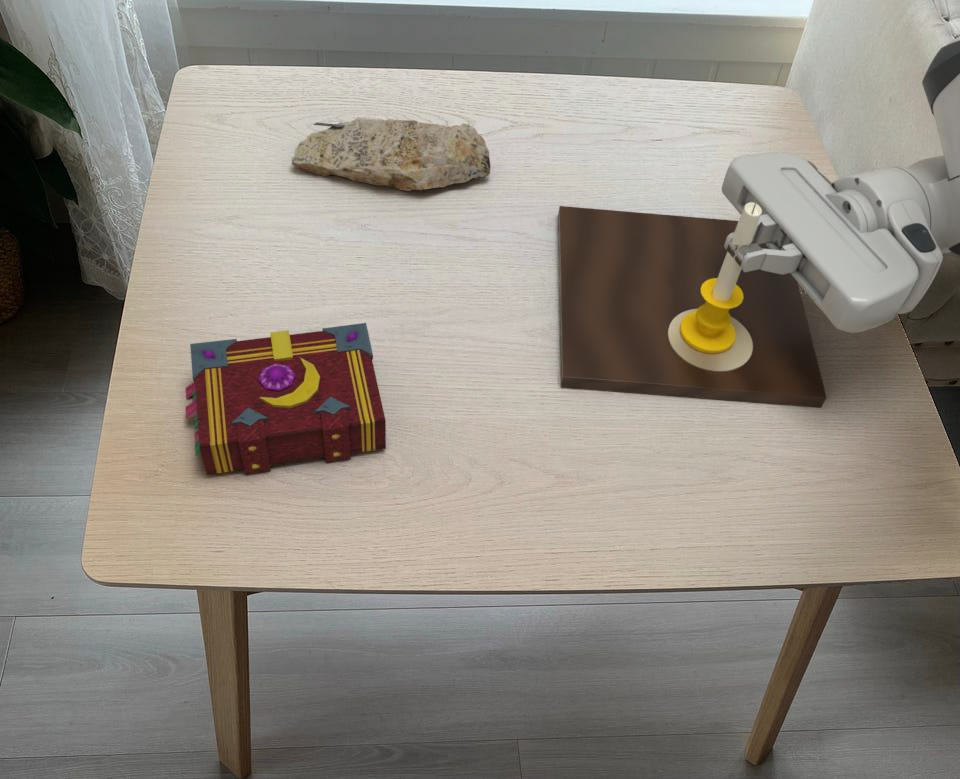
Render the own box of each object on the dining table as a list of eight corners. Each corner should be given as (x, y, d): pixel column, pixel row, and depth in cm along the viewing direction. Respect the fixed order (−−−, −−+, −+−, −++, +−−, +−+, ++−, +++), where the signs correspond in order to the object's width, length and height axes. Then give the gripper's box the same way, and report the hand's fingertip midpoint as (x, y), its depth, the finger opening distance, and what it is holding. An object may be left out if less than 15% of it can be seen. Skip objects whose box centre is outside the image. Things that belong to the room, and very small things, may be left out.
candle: (743, 350, 88) (798, 220, 77) (692, 357, 87) (739, 227, 75) (721, 310, 92) (770, 180, 80) (671, 317, 91) (713, 186, 79)
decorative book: (388, 454, 80) (388, 417, 76) (191, 484, 77) (180, 447, 73) (366, 355, 87) (365, 317, 83) (184, 379, 84) (175, 340, 80)
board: (778, 235, 102) (783, 222, 101) (821, 407, 87) (827, 396, 86) (557, 216, 102) (559, 204, 100) (560, 387, 86) (563, 375, 85)
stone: (498, 119, 104) (479, 142, 96) (495, 178, 107) (477, 204, 99) (317, 104, 108) (283, 124, 99) (320, 161, 111) (287, 185, 102)
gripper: (812, 125, 88) (683, 150, 84) (957, 271, 76) (815, 308, 72) (790, 180, 93) (667, 206, 89) (923, 325, 81) (788, 362, 77)
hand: (734, 253), depth 81 cm, fingers closed on candle
